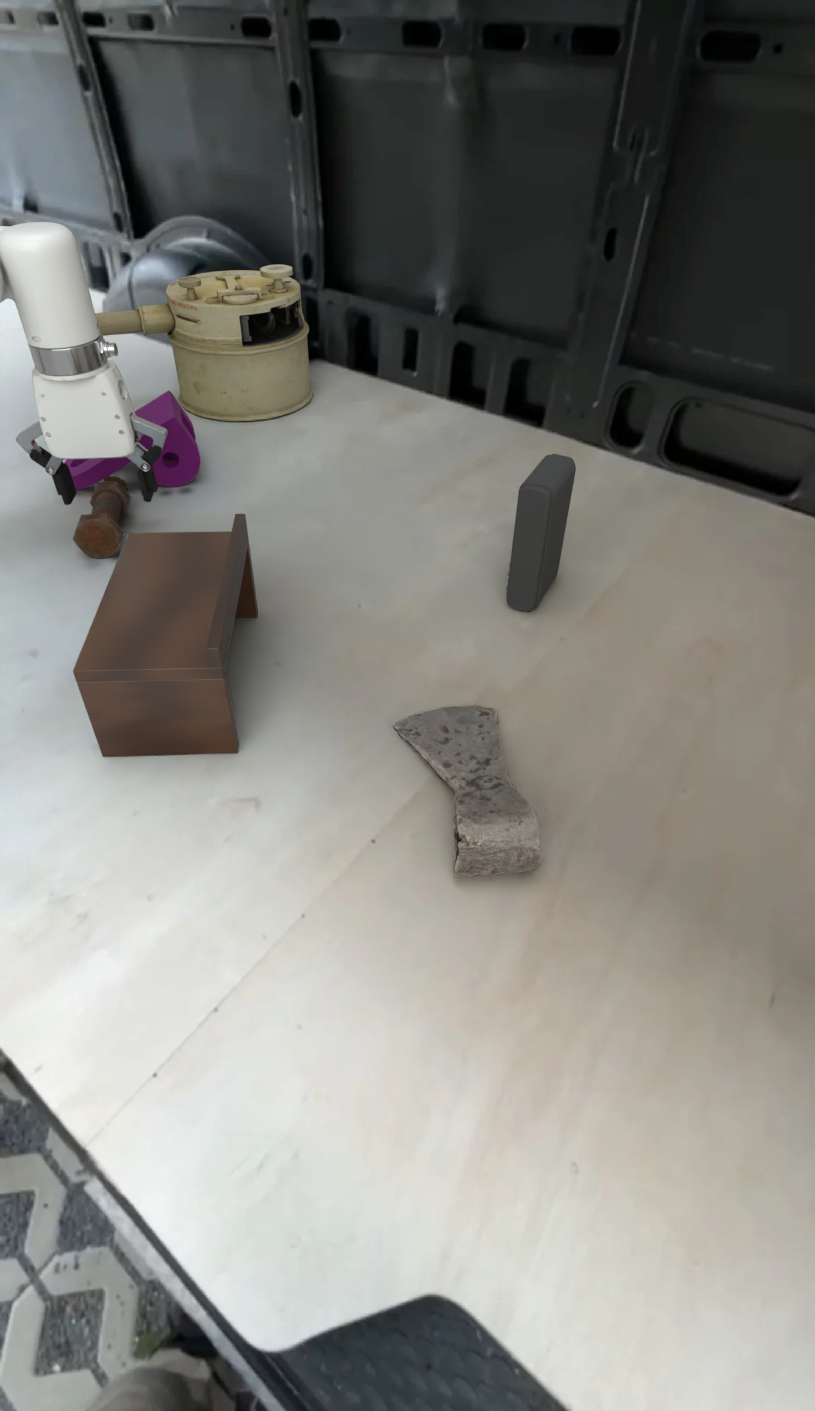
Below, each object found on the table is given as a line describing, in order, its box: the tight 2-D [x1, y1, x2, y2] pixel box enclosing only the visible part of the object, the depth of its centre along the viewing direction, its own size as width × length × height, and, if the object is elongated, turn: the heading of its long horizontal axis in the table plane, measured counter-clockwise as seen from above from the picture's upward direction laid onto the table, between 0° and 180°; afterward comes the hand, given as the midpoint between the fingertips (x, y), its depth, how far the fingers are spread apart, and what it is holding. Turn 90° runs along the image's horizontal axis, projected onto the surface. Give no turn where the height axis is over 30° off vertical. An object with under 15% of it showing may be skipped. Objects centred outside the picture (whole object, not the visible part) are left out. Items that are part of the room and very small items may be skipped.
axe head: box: [393, 705, 541, 878], centre depth 68 cm, size 21×5×10 cm
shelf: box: [72, 513, 259, 758], centre depth 75 cm, size 12×22×12 cm, turn 3°
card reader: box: [505, 453, 577, 612], centre depth 86 cm, size 9×4×15 cm, turn 154°
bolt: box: [72, 475, 132, 559], centre depth 99 cm, size 6×5×15 cm
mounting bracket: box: [63, 389, 201, 490], centre depth 110 cm, size 9×8×18 cm
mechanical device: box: [95, 263, 314, 422], centre depth 125 cm, size 22×34×20 cm, turn 109°
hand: (110, 498), depth 98 cm, fingers open, 9 cm apart
